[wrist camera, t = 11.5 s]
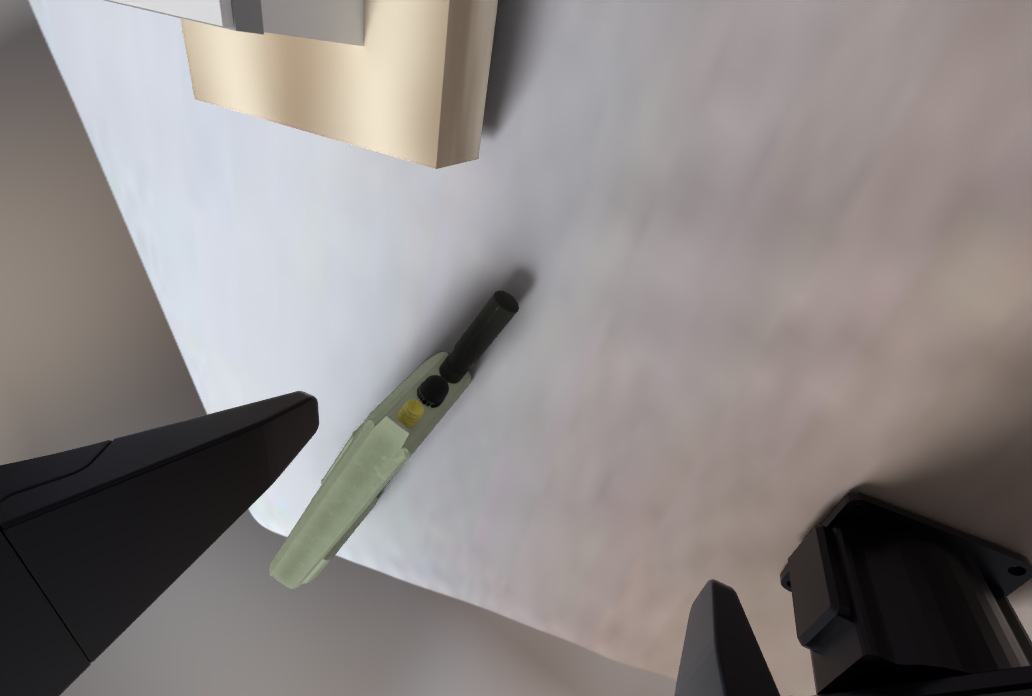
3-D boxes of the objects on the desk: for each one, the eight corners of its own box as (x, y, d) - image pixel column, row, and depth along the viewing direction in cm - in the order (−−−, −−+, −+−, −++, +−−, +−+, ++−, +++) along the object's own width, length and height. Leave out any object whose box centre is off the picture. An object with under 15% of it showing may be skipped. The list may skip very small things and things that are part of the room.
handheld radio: (327, 493, 36) (489, 264, 21) (360, 520, 36) (544, 310, 21) (258, 567, 30) (413, 326, 16) (298, 598, 31) (486, 387, 16)
